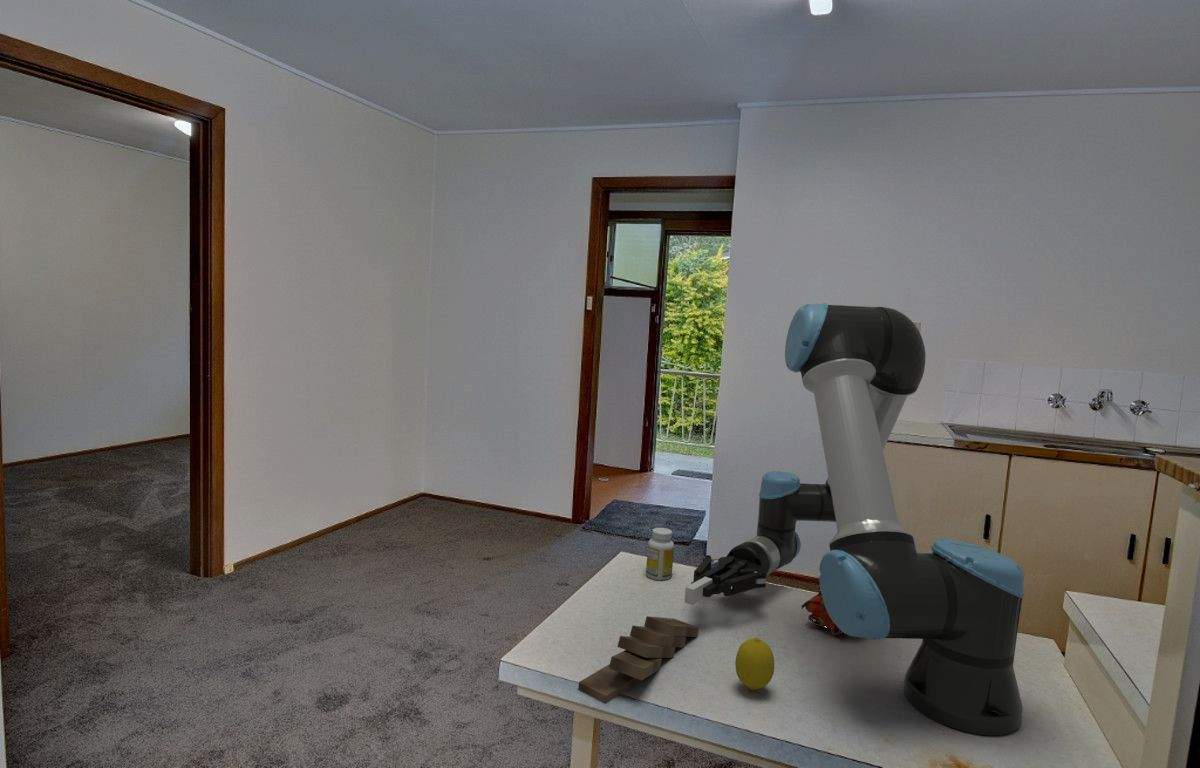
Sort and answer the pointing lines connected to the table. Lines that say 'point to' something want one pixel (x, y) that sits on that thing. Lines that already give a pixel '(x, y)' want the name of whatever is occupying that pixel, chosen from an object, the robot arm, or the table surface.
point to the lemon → (754, 663)
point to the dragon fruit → (820, 613)
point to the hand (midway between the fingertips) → (688, 596)
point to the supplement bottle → (660, 554)
